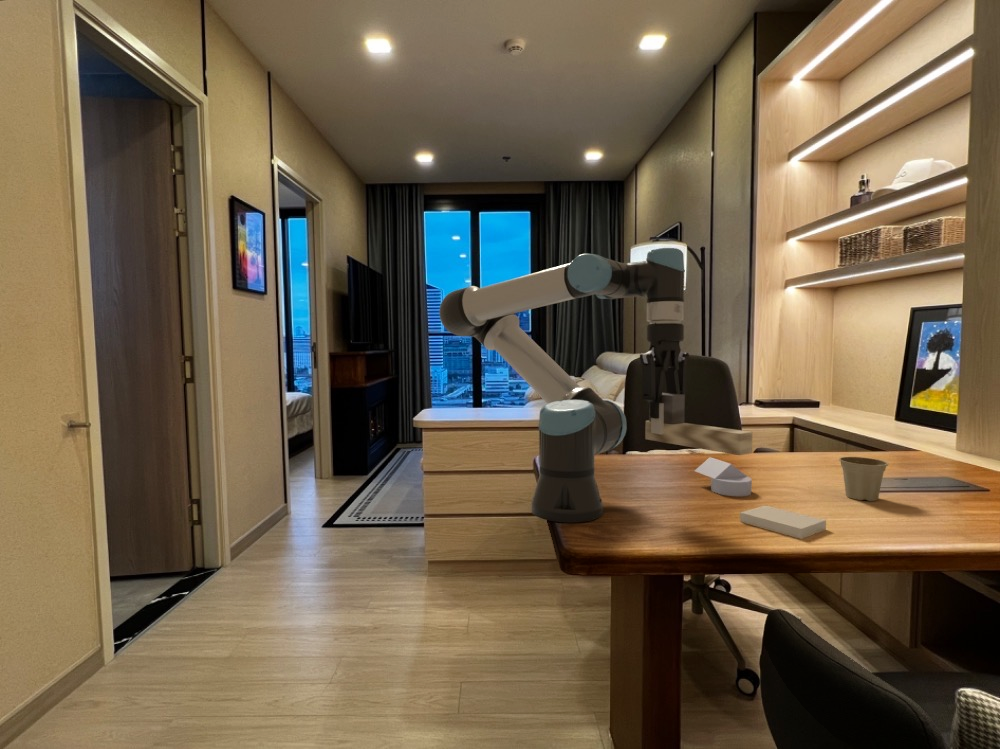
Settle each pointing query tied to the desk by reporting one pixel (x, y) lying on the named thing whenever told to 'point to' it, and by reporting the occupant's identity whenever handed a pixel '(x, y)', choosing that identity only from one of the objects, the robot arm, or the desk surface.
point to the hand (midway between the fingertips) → (664, 432)
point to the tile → (783, 521)
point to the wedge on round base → (725, 478)
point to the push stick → (696, 431)
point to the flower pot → (862, 477)
